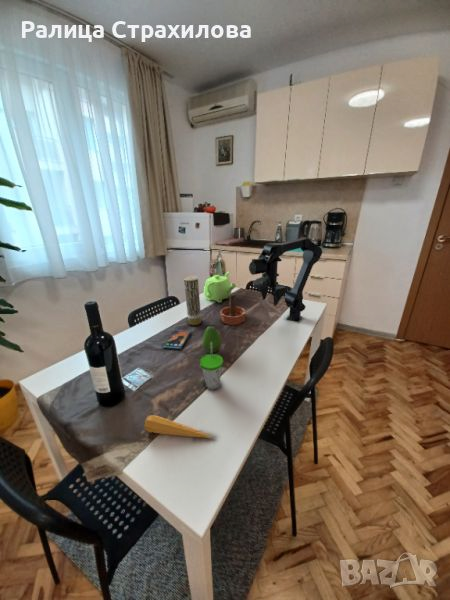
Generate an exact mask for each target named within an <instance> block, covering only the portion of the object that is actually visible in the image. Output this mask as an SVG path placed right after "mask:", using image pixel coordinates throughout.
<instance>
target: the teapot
mask: <svg viewBox="0 0 450 600" xmlns="http://www.w3.org/2000/svg"><path fill="white" fill-rule="evenodd" d="M229 274H230V271H227V272H226V273H225V275H224V276H223V275H220V274H214V276H211V277H209V278H207V279H206V280H205V283H204V287H203V296H204V297H205V298H206V299H207V301H212V300H214V301H216V302H217V303H222V302H223V300H224V299H229V297H230V294H231V293H232V291H233V290H234V289H235V288H236V287H237V286H236V283H231V282H230V280H229Z"/></svg>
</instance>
